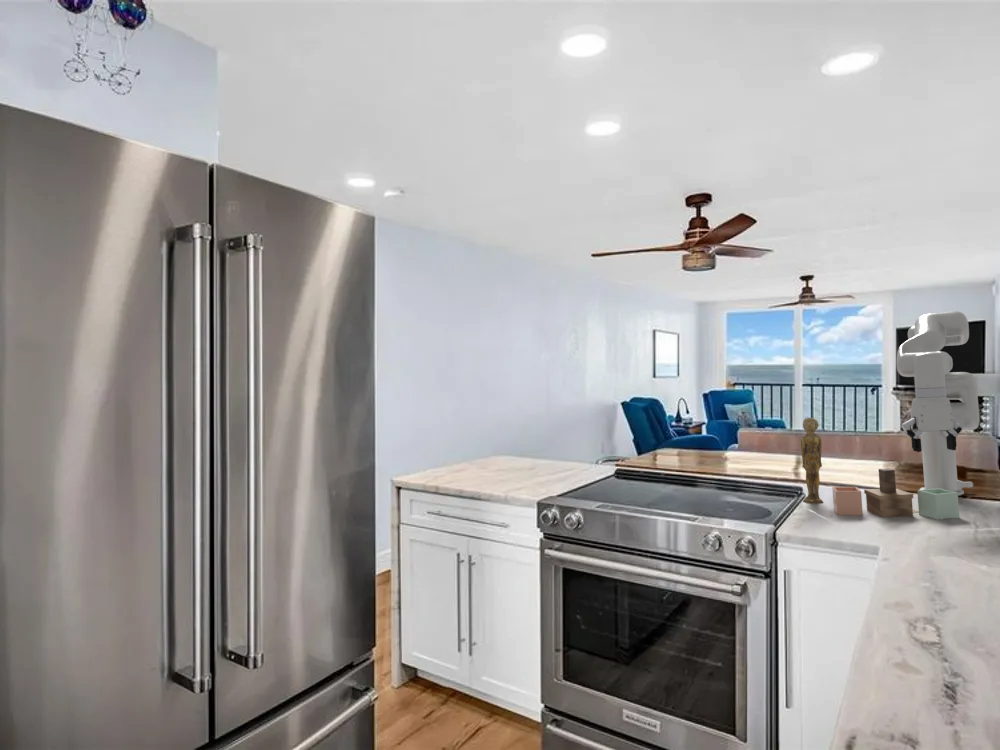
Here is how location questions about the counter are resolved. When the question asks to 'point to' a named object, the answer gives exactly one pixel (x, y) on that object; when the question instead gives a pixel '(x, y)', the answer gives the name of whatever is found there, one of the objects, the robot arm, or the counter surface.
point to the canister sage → (938, 503)
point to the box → (889, 506)
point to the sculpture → (811, 459)
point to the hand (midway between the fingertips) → (934, 450)
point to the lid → (887, 487)
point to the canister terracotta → (847, 501)
